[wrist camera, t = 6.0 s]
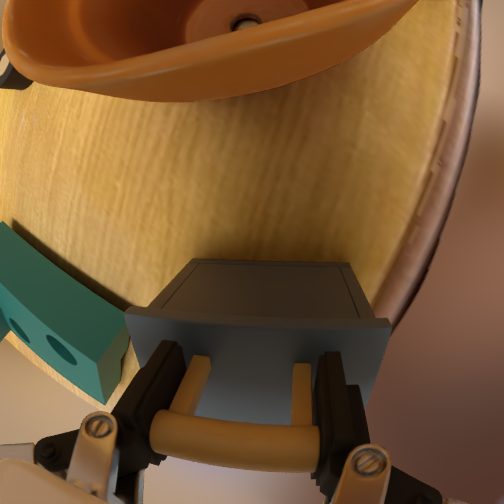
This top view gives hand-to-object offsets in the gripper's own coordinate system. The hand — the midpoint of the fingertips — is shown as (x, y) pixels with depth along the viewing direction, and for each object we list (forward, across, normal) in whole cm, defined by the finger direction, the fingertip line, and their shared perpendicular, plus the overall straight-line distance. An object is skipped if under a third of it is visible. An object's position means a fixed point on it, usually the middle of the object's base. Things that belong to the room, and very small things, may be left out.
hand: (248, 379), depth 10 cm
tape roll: (+10, +23, -20) cm, 32 cm away
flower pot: (+10, +1, -16) cm, 19 cm away
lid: (+1, 0, +4) cm, 4 cm away
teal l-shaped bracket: (+10, +22, +5) cm, 24 cm away
